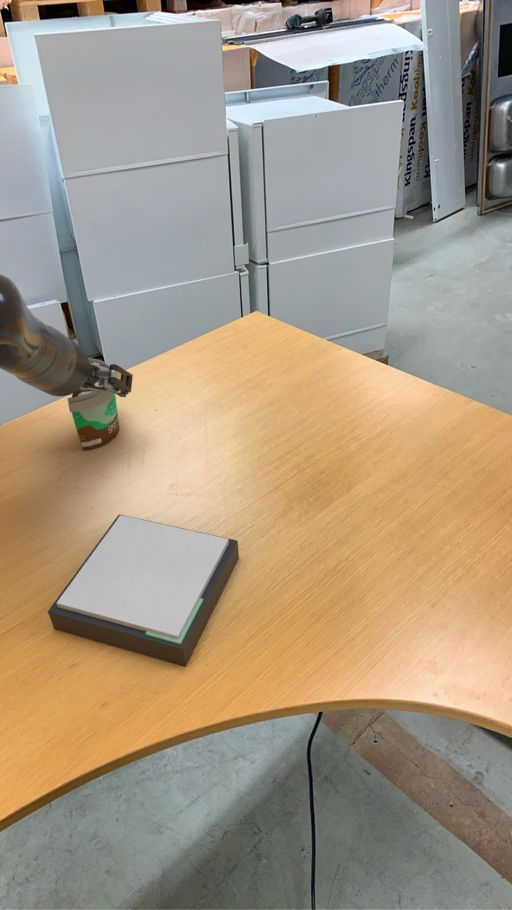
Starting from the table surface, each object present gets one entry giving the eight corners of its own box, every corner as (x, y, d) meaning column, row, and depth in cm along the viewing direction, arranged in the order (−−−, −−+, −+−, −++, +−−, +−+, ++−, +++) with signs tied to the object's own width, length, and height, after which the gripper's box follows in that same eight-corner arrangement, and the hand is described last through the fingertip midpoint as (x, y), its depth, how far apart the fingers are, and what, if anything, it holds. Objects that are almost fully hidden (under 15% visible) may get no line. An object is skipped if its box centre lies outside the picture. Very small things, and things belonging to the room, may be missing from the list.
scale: (53, 628, 72) (45, 606, 70) (122, 530, 84) (117, 509, 82) (185, 666, 68) (181, 644, 65) (239, 557, 80) (237, 535, 77)
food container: (123, 453, 97) (111, 397, 91) (81, 456, 97) (66, 400, 91) (130, 407, 107) (119, 353, 101) (92, 410, 106) (79, 356, 100)
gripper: (104, 332, 80) (145, 366, 96) (-3, 328, 82) (54, 362, 98) (98, 392, 79) (140, 416, 95) (-11, 386, 81) (48, 411, 97)
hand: (96, 388), depth 97 cm, fingers open, 8 cm apart
